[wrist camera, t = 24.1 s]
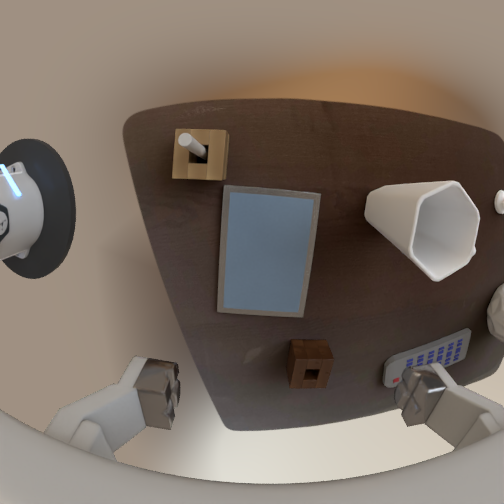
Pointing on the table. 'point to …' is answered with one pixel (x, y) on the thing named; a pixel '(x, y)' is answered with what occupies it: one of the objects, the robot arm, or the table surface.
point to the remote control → (427, 356)
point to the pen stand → (309, 363)
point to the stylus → (193, 145)
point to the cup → (427, 223)
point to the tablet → (266, 250)
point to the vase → (496, 314)
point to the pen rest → (187, 160)
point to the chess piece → (499, 202)
